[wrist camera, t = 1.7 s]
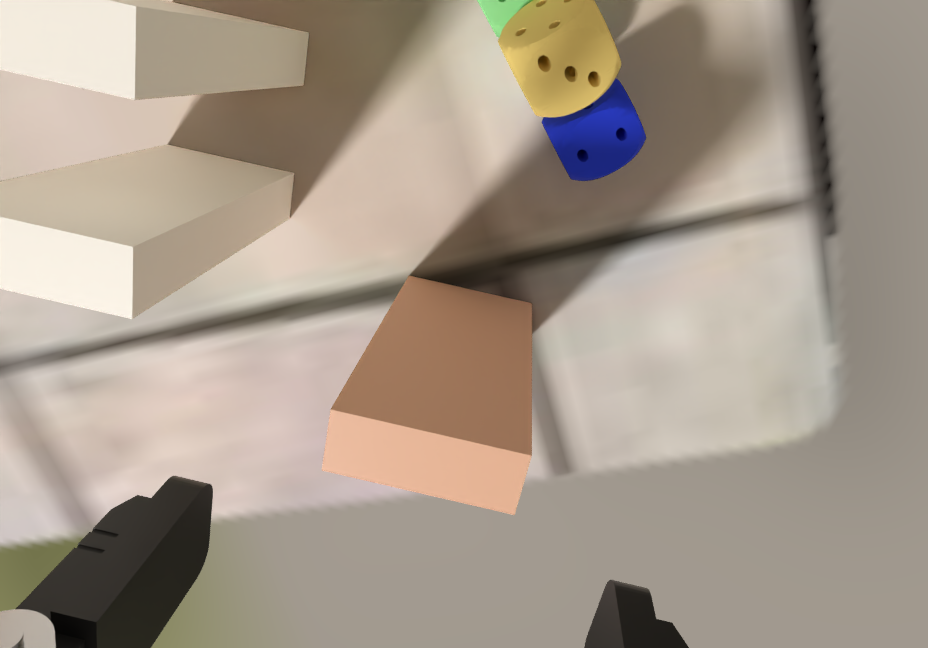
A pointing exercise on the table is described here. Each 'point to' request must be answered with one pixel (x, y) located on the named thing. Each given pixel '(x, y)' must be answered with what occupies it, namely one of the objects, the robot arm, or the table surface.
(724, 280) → the table surface
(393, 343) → the domino end
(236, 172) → the domino
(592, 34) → the dice
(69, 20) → the domino
